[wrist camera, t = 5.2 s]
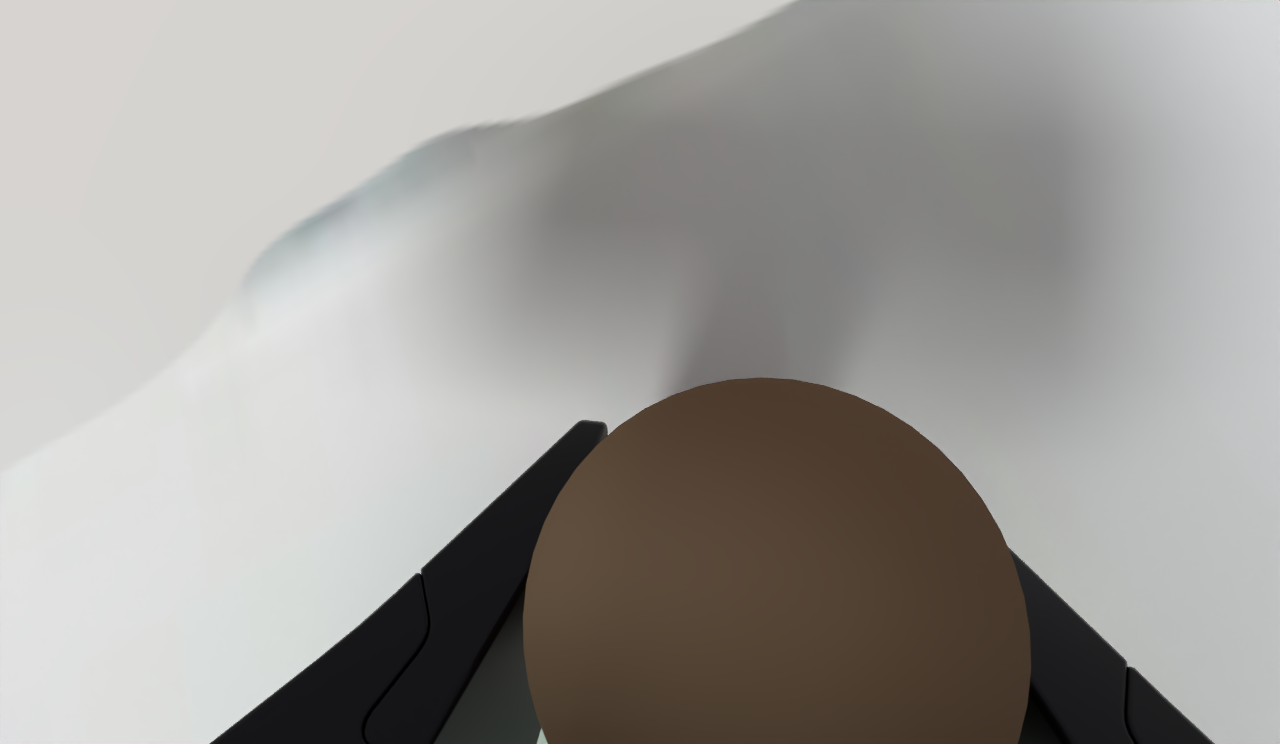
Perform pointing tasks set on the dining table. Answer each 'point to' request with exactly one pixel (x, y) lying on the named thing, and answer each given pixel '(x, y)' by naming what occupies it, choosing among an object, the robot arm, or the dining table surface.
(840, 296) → the dining table surface
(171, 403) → the dining table surface
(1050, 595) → the robot arm
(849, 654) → the walnut handle
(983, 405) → the dining table surface
